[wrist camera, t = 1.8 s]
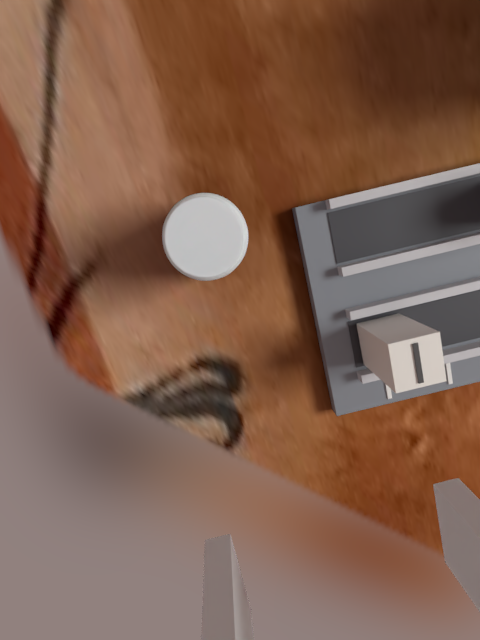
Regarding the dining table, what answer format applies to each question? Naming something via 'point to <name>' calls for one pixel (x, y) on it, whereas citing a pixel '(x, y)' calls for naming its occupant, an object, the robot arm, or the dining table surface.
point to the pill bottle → (205, 236)
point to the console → (394, 277)
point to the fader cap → (402, 352)
